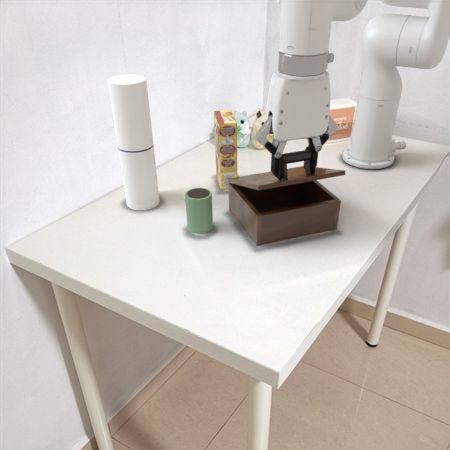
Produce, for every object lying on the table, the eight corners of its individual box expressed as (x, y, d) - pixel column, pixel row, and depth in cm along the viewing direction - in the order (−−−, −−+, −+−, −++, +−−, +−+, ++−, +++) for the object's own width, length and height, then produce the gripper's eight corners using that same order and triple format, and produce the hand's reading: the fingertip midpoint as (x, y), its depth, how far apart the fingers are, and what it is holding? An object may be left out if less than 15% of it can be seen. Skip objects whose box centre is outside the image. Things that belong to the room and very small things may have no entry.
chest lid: (345, 175, 84) (344, 145, 82) (258, 190, 80) (255, 159, 78) (304, 169, 98) (302, 144, 96) (228, 182, 94) (225, 156, 92)
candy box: (238, 191, 106) (238, 122, 96) (219, 193, 106) (217, 123, 96) (232, 175, 113) (232, 109, 103) (214, 176, 112) (212, 110, 103)
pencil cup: (208, 222, 95) (206, 185, 90) (216, 234, 92) (215, 196, 87) (184, 227, 94) (181, 189, 89) (191, 239, 90) (189, 201, 85)
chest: (336, 232, 91) (341, 200, 87) (256, 249, 87) (257, 216, 83) (301, 200, 102) (304, 169, 98) (228, 213, 98) (228, 182, 94)
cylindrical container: (126, 211, 99) (106, 85, 84) (126, 196, 105) (107, 75, 89) (160, 208, 100) (146, 83, 84) (158, 193, 106) (145, 73, 90)
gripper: (338, 54, 78) (325, 159, 90) (242, 64, 74) (241, 173, 85) (363, 64, 73) (346, 174, 84) (261, 75, 68) (257, 190, 80)
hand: (293, 173), depth 85 cm, fingers closed on chest lid, 5 cm apart
